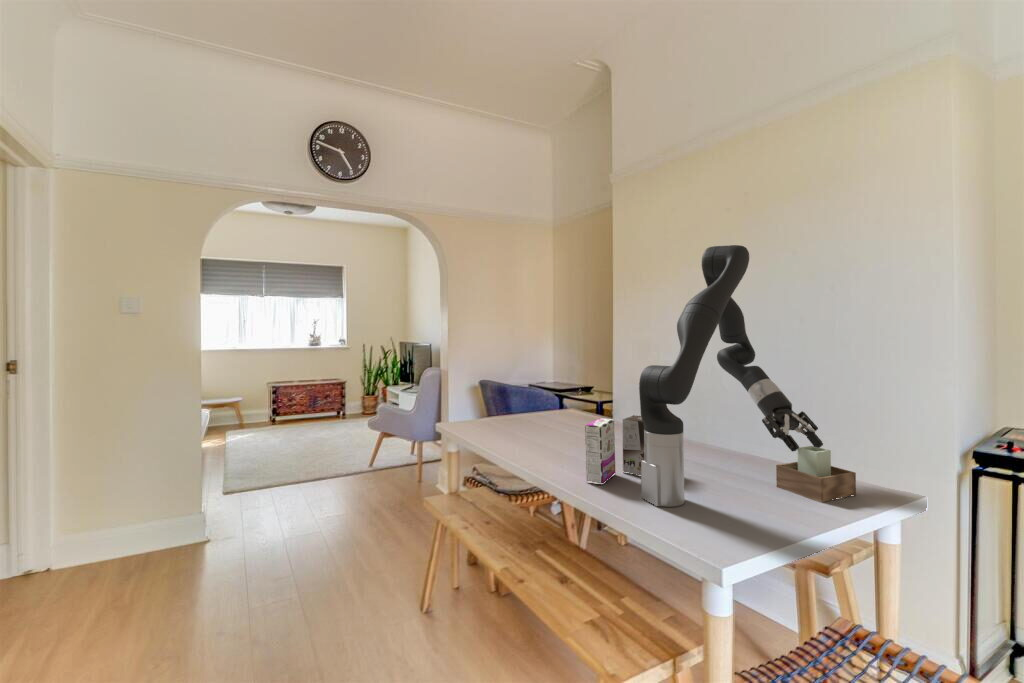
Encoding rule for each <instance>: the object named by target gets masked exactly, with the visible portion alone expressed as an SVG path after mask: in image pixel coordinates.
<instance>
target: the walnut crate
mask: <svg viewBox="0 0 1024 683" xmlns="http://www.w3.org/2000/svg"><path fill="white" fill-rule="evenodd" d="M775 476H776V488H778V489H782V490H785V491H787V490H788V492H790V491H791V492H790V493H792V494H793V493H794V494H797V495H799V496H801V495H802V497H803V498H807V499H811V500H813V501H816V502H818V501H820V502H819V503H821V502H822V503H825V502H824V501H827V502H829V501H828V500H832V499H836V498H841V497H847V496H851V495H856V494H857V477H856V476H857V473H856V472H854V471H851V470H847V469H844V468H841V467H836V466H832V465H831V476H826V477H817V476H814V475H811V474H807V473H804V472H801V471H798V461H794V462H787V463H780V464H776V474H775ZM856 496H857V495H856ZM847 498H848V497H847ZM832 501H833V500H832Z"/></svg>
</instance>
